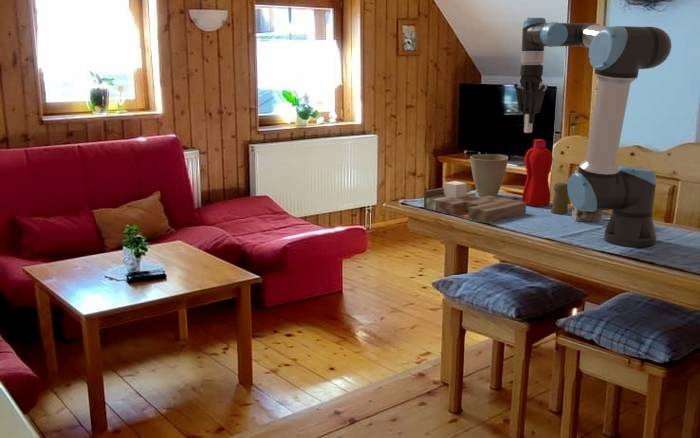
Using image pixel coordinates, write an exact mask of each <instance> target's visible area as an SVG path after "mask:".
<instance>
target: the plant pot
mask: <svg viewBox="0 0 700 438" xmlns="http://www.w3.org/2000/svg"><path fill="white" fill-rule="evenodd" d="M469 159H470V167H471V168H470V169H471V172H472V173H471V175H472V178H473V183H474V187H475V189H476V192H477V197H484V196H489V195H490V196H495V197H498V194H499V192H500V190H501V187H502V184H503V181H504V178H505V175H506V170H507V166H508V160H509V157H508V156H506V155H501V154H486V153H485V154H472V155H471V156H469Z"/></svg>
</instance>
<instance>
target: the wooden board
mask: <svg viewBox="0 0 700 438" xmlns="http://www.w3.org/2000/svg"><path fill="white" fill-rule="evenodd" d="M423 209H427V210H431V211H434V212H440V213H443V214H448V215H451V216H457V217H461V218H465V219H469V220H473V221H476V222H477V221H478V222H481V223H485V224H486V223H491V222H495V221H499V220H504V219H507V218H508V219H509V218H513V217H518V216H521V215H526V213H527V212H526V211H527V205H526V203H525V202H522V201H520V200H513V199H510V198H509V199H508V198H504V197H501V196H496V197H495V196H490V195H489V196H484V197H480V196H476V192H474V191H469V190H467V196H465V197H460V198H452V197H447V196H444V187H438V188H434V189H427V190H424V191H423Z"/></svg>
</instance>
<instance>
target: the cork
mask: <svg viewBox="0 0 700 438" xmlns="http://www.w3.org/2000/svg"><path fill="white" fill-rule="evenodd" d="M567 184H568V183H566V182H557V183H554V185H553V190H554V195H553V201H552V205H551V209H550V213H551V214H554V215H558V216H559V215H568V214H569V208H568V207H569V206H568V189H567Z"/></svg>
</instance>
